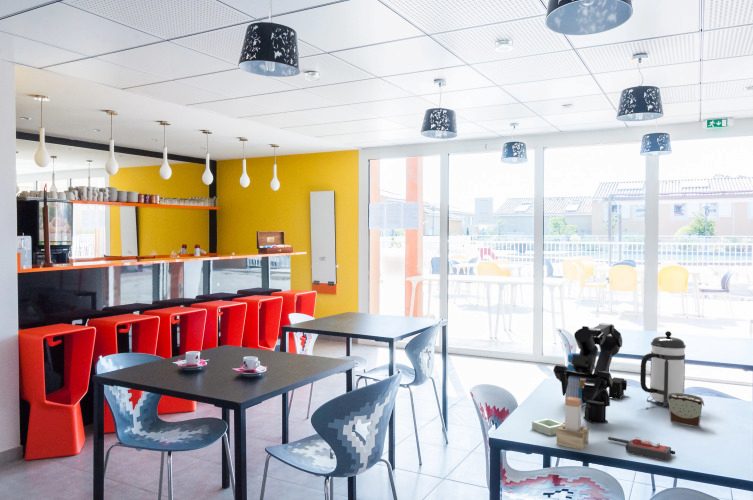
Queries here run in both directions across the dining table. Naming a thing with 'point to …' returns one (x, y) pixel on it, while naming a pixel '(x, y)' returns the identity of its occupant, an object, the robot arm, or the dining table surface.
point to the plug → (573, 414)
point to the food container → (685, 408)
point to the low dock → (546, 426)
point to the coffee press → (664, 368)
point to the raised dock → (572, 437)
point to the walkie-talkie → (646, 448)
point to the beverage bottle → (574, 382)
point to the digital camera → (617, 388)
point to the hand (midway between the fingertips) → (577, 397)
